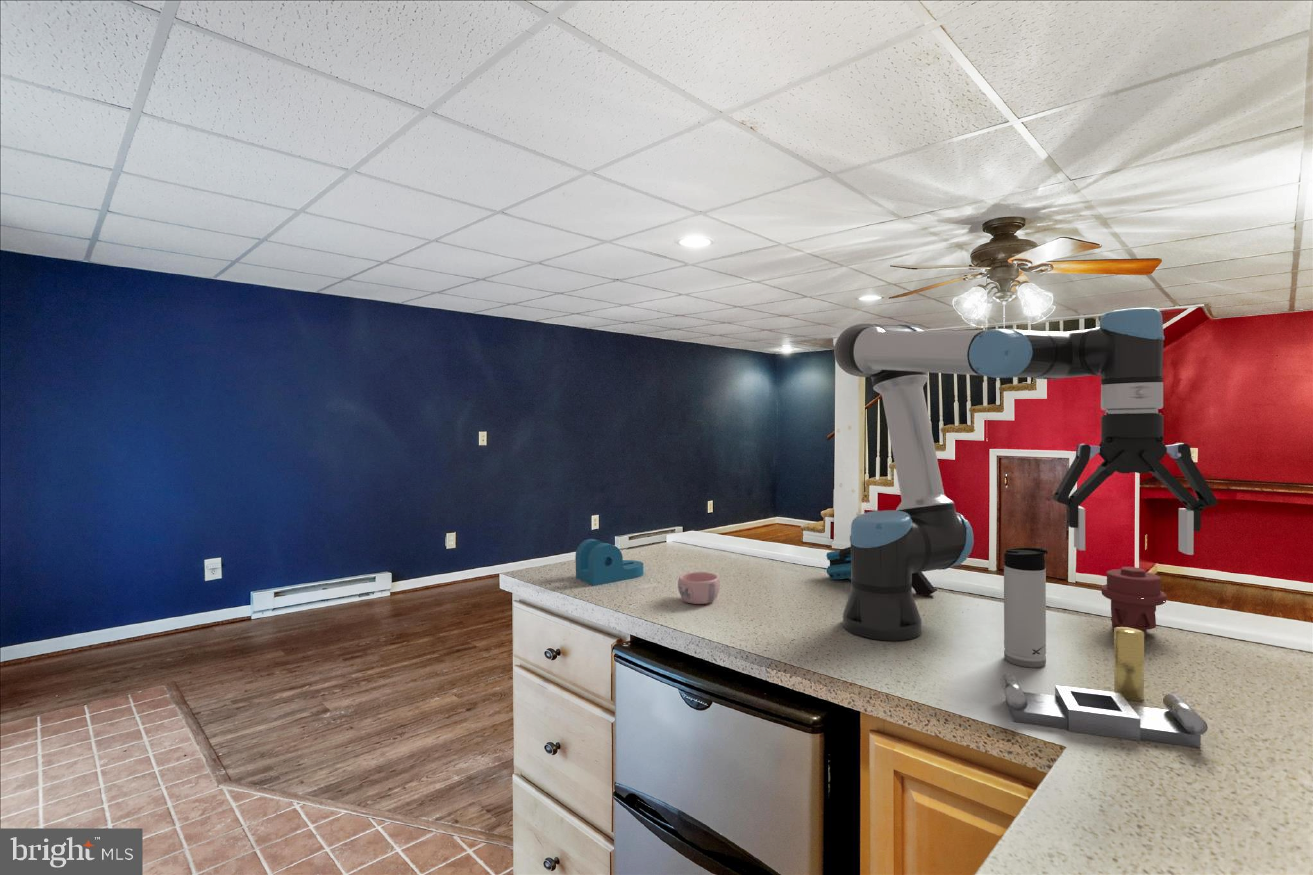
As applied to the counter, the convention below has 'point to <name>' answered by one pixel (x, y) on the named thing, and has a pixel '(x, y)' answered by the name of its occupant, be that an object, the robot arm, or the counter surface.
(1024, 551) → the travel mug
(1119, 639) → the pin
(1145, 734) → the square socket base
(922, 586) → the gun
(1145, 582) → the mechanical component
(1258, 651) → the counter surface
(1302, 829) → the counter surface
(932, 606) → the counter surface
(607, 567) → the camera mount
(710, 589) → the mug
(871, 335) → the robot arm
